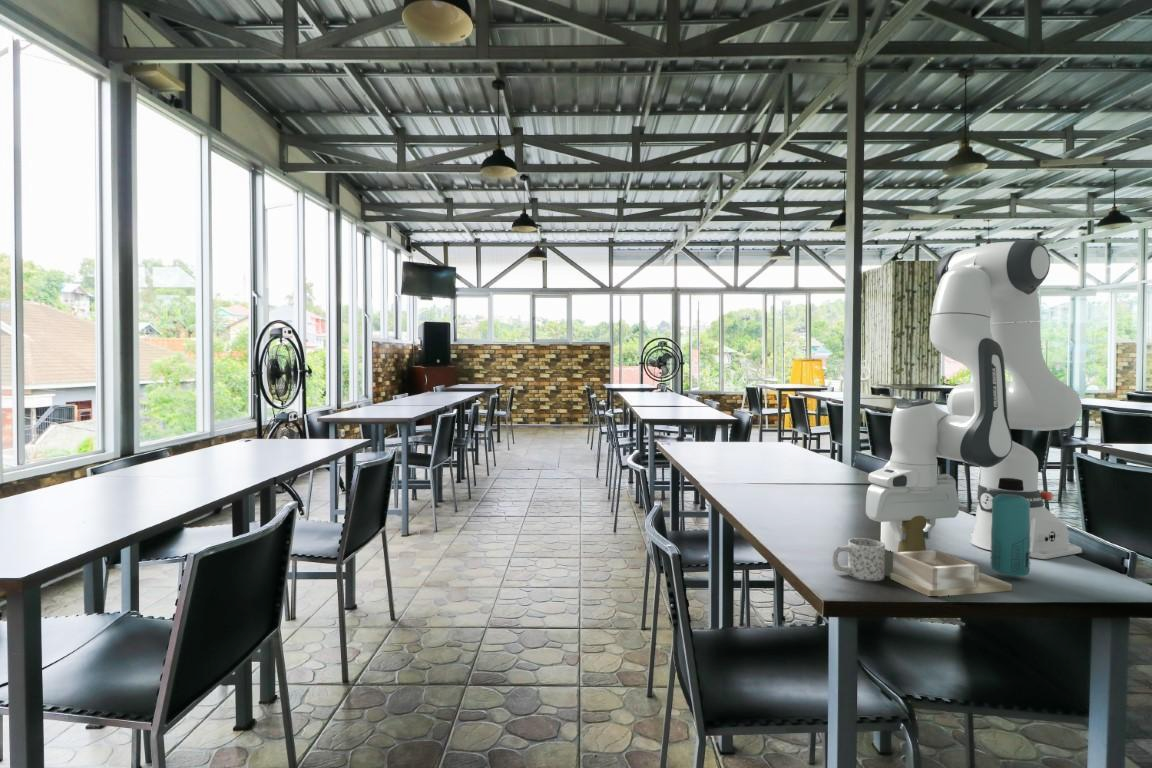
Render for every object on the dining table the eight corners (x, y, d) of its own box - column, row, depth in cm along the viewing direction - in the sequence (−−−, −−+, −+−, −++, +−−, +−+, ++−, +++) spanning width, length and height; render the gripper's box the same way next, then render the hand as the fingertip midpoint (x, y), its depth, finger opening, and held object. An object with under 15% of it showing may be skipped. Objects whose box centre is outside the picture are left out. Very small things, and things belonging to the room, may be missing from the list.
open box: (967, 573, 124) (967, 548, 124) (1011, 590, 114) (1012, 563, 114) (890, 578, 120) (891, 552, 120) (929, 597, 110) (930, 568, 110)
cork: (932, 569, 126) (932, 516, 126) (900, 566, 127) (900, 514, 127) (923, 560, 132) (923, 510, 132) (892, 558, 133) (893, 508, 133)
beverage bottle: (1031, 586, 116) (1034, 482, 116) (989, 579, 120) (992, 479, 120) (1028, 576, 122) (1030, 477, 122) (988, 570, 126) (990, 474, 125)
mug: (874, 570, 125) (875, 538, 125) (890, 581, 118) (891, 547, 118) (825, 569, 125) (826, 537, 125) (838, 580, 119) (839, 546, 119)
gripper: (943, 471, 134) (942, 532, 135) (861, 474, 130) (860, 538, 131) (967, 476, 128) (966, 541, 128) (881, 480, 124) (880, 546, 124)
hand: (912, 539), depth 130 cm, fingers open, 4 cm apart
